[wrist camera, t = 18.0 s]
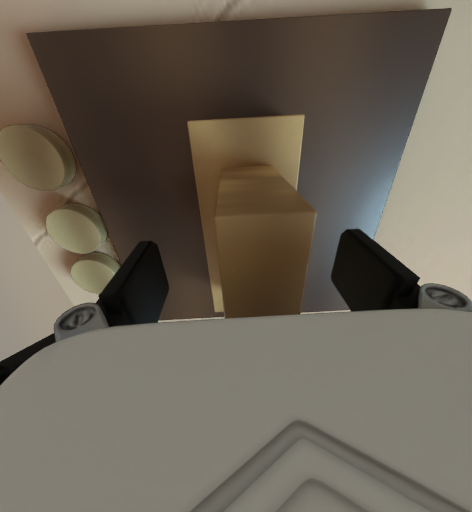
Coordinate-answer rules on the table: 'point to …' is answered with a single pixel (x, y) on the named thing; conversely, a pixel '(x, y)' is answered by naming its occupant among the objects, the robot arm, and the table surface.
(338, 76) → the tray
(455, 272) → the table surface
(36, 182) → the token
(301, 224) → the brush
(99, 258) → the token
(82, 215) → the disc
